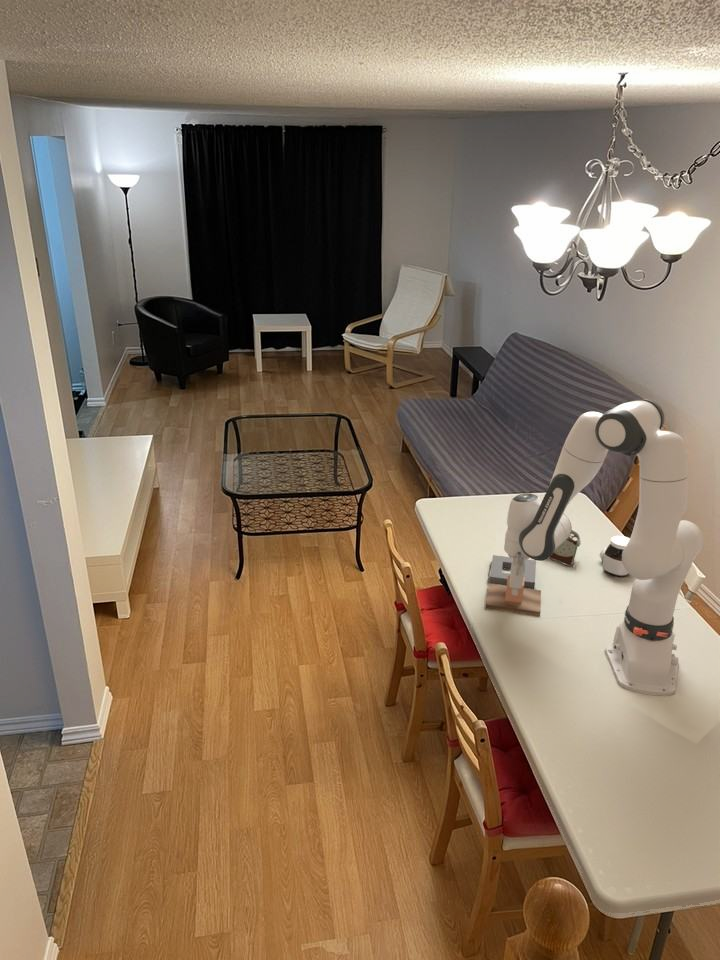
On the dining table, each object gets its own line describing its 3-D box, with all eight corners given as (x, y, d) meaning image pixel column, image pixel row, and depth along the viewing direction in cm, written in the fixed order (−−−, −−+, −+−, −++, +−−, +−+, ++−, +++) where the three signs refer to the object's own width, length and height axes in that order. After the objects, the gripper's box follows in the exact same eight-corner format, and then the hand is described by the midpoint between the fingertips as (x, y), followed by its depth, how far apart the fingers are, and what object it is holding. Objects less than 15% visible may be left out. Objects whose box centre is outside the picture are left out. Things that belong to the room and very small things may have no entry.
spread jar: (618, 582, 235) (624, 550, 230) (587, 568, 242) (592, 537, 238) (638, 569, 242) (644, 538, 237) (607, 556, 250) (613, 525, 245)
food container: (584, 561, 246) (588, 534, 242) (575, 568, 242) (579, 541, 238) (551, 548, 254) (554, 522, 250) (542, 555, 250) (545, 528, 246)
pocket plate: (534, 589, 230) (535, 582, 229) (489, 583, 233) (489, 576, 232) (535, 567, 242) (536, 560, 241) (492, 561, 245) (492, 555, 244)
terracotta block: (521, 602, 220) (523, 585, 218) (505, 600, 221) (506, 583, 219) (522, 594, 225) (524, 577, 222) (505, 591, 226) (507, 574, 223)
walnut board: (539, 616, 217) (540, 611, 216) (485, 608, 220) (485, 604, 219) (540, 594, 227) (541, 590, 227) (488, 587, 231) (488, 583, 230)
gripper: (529, 564, 206) (524, 606, 212) (531, 531, 224) (527, 570, 230) (506, 561, 207) (502, 602, 213) (510, 528, 225) (506, 567, 231)
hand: (515, 585), depth 221 cm, fingers open, 8 cm apart
